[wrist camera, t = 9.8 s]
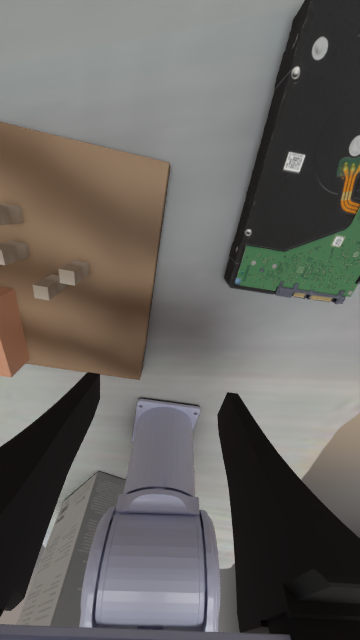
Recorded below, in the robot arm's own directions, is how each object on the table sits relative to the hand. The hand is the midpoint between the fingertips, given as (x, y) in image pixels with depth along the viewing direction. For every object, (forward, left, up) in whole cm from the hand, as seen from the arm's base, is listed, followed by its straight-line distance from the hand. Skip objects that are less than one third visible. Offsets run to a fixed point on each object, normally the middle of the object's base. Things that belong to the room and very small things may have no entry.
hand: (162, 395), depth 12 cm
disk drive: (+12, -9, -10) cm, 18 cm away
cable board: (+2, +12, -9) cm, 15 cm away
